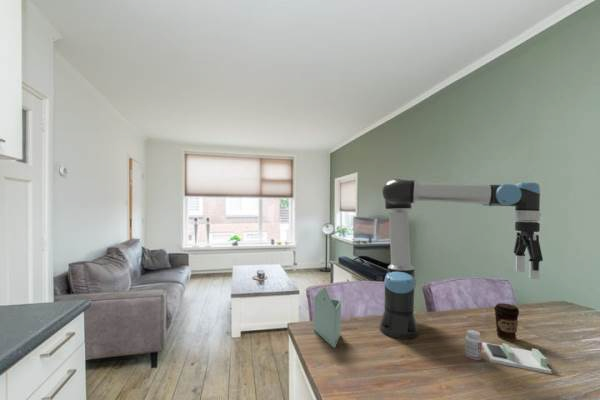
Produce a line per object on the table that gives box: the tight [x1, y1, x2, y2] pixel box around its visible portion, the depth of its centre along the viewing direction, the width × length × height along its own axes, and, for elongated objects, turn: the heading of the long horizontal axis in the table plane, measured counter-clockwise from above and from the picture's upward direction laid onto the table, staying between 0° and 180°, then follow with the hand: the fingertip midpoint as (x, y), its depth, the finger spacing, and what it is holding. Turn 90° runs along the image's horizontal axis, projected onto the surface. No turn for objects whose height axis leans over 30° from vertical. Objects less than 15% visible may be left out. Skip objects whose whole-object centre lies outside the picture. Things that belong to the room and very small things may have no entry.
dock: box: [481, 341, 552, 375], centre depth 95 cm, size 16×13×4 cm
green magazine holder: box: [313, 286, 342, 349], centre depth 108 cm, size 16×8×20 cm, turn 24°
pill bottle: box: [464, 329, 482, 361], centre depth 96 cm, size 5×5×8 cm
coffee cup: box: [493, 302, 520, 342], centre depth 111 cm, size 9×8×13 cm
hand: (526, 275), depth 108 cm, fingers open, 13 cm apart
